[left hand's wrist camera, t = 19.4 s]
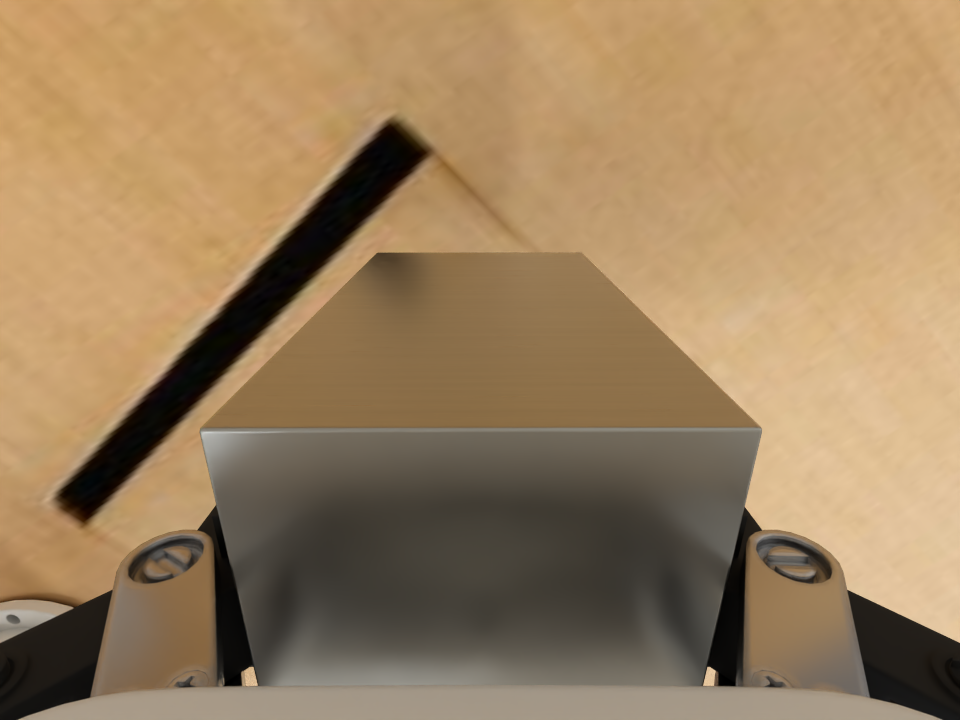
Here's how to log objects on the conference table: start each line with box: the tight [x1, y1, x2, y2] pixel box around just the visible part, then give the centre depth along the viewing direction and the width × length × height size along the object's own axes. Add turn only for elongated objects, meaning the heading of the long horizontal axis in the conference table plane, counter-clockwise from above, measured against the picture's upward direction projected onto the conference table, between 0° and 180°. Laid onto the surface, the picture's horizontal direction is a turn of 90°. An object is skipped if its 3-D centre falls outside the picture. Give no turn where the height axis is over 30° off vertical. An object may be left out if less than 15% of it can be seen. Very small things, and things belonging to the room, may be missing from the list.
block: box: [200, 253, 762, 686], centre depth 13 cm, size 7×7×12 cm
